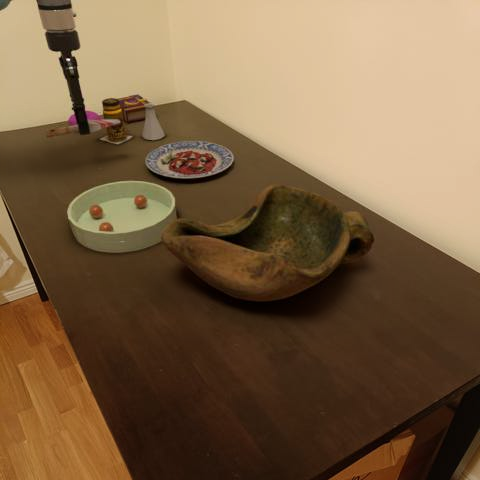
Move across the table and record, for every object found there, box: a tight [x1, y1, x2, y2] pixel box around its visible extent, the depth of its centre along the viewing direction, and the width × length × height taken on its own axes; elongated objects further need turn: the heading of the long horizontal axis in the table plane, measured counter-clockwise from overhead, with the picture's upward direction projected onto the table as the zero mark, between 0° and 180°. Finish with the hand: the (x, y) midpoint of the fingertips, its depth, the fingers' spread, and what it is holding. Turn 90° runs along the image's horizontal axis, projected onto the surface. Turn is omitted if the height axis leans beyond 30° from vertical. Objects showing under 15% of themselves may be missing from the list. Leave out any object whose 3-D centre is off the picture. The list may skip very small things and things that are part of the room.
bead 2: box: [99, 222, 114, 232], centre depth 97 cm, size 3×3×3 cm
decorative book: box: [117, 93, 153, 123], centre depth 157 cm, size 11×16×5 cm
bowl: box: [161, 183, 375, 303], centre depth 83 cm, size 39×29×15 cm
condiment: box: [99, 97, 133, 145], centre depth 138 cm, size 7×8×12 cm
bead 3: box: [134, 195, 147, 208], centre depth 106 cm, size 3×3×3 cm
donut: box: [67, 110, 102, 126], centre depth 148 cm, size 10×10×5 cm
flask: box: [141, 102, 166, 141], centre depth 140 cm, size 7×7×10 cm
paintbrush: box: [44, 118, 121, 138], centre depth 117 cm, size 4×3×20 cm
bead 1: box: [89, 205, 103, 218], centre depth 103 cm, size 3×3×3 cm
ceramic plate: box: [145, 140, 234, 180], centre depth 126 cm, size 26×26×3 cm
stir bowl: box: [66, 180, 178, 254], centre depth 102 cm, size 25×25×5 cm
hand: (84, 130), depth 118 cm, fingers closed on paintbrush, 4 cm apart
